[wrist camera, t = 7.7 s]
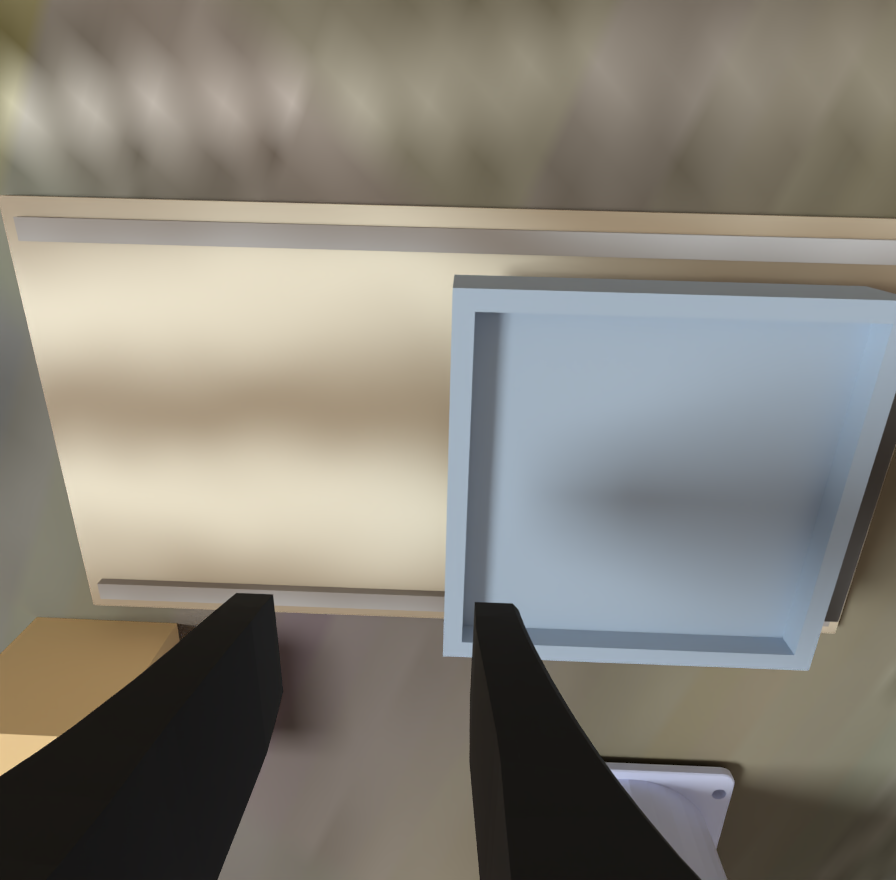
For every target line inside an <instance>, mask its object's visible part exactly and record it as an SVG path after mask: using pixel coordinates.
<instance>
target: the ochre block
mask: <svg viewBox="0 0 896 880" xmlns="http://www.w3.org/2000/svg"><path fill="white" fill-rule="evenodd" d="M179 641H180V639H179V633H178V627H177V623H157V622H134V621H111V620H89V619H66V618H43V617H37V618H36V619H35V620H34V621H33V622H32V623H31V624H30V625H29V626H28V627H27V628H26V629H25V630H24V631H23V632H22V633H21V634H20V635H19V636H18V637H17V638H16V639H15V640H14V641H13V642H12V643H11V644H10V645H9V646H8V647H7V648H6V649H5V650H4V651H3V652H2V653H1V654H0V776H1V775H2V774H4V773H6V772H7V771H9V770H10V769H12V768H13V767H15V766H16V765H18V764H19V763H21V762H22V761H24V760H25V759H27V758H28V757H30V756H31V755H33V754H34V753H36V752H37V751H39V750H40V749H42V748H43V747H44V746H46V745H47V744H49V743H50V742H52V741H53V740H54V739H56V738H57V737H59V736H60V735H62V734H63V733H64V732H66V731H67V730H68V729H70V728H71V727H73V726H74V725H75V724H77V723H78V722H79V721H81V720H82V719H83V718H84V717H86V716H87V715H88V714H90V713H91V712H92V711H94V710H95V709H96V708H97V707H99V706H100V705H101V704H103V703H104V702H105V701H107V700H108V699H109V698H110V697H112V696H113V695H114V694H116V693H117V692H118V691H120V690H121V689H122V688H124V687H125V686H126V685H127V684H129V683H130V682H131V681H133V680H134V679H135V678H136V677H138V676H139V675H140V674H141V673H142V672H144V671H145V670H146V669H147V668H148V667H150V666H151V665H152V664H153V663H154V662H156V661H157V660H158V659H159V658H160V657H162V656H163V655H164V654H165V653H166V652H168V651H169V650H170V649H171V648H172V647H174V646H175V645H176V644H177V643H178V642H179Z"/></svg>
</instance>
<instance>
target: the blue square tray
mask: <svg viewBox="0 0 896 880" xmlns="http://www.w3.org/2000/svg"><path fill="white" fill-rule="evenodd" d="M895 393H896V294H894V293H890V292H886V291H882V290H879V289H875V288H871V287H867V286H842V285H806V284H771V283H736V282H700V281H665V280H629V279H594V278H558V277H523V276H487V275H454V282H453V294H452V332H451V371H450V409H449V448H448V486H447V525H446V563H445V602H444V640H443V656H453V657H472V648H473V627H474V606H475V602H490V603H513V604H514V605H515V606H516V607H517V609H518V610H519V612H520V615H521V618H522V620H523V623H524V625H525V627H526V630H527V632H528V634H529V636H530V638H531V640H532V643H533V645H534V647H535V649H536V651H537V652H538V654H539V656H540V658H541V660H554V661H579V662H605V663H630V664H656V665H681V666H706V667H732V668H757V669H782V670H808V671H809V668H810V665H811V662H812V658H813V655H814V652H815V649H816V646H817V642H818V639H819V636H820V633H821V630H822V626H823V623H824V620H825V617H826V614H827V611H828V607H829V604H830V601H831V598H832V595H833V591H834V588H835V585H836V582H837V579H838V575H839V572H840V569H841V566H842V563H843V559H844V556H845V553H846V550H847V547H848V543H849V540H850V537H851V534H852V531H853V527H854V524H855V521H856V518H857V515H858V511H859V508H860V505H861V502H862V499H863V495H864V492H865V489H866V486H867V483H868V479H869V476H870V473H871V470H872V467H873V463H874V460H875V457H876V454H877V451H878V447H879V444H880V441H881V438H882V435H883V431H884V428H885V425H886V422H887V419H888V415H889V412H890V409H891V406H892V403H893V400H894V396H895Z"/></svg>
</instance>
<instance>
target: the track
mask: <svg viewBox="0 0 896 880" xmlns="http://www.w3.org/2000/svg"><path fill="white" fill-rule="evenodd" d="M0 209H1V213H2V218H3V222H4V226H5V230H6V235H7V239H8V243H9V247H10V252H11V256H12V260H13V264H14V269H15V273H16V277H17V281H18V286H19V290H20V294H21V298H22V302H23V307H24V311H25V315H26V319H27V324H28V328H29V332H30V336H31V341H32V345H33V349H34V353H35V358H36V362H37V366H38V370H39V375H40V379H41V383H42V387H43V392H44V396H45V400H46V404H47V409H48V413H49V417H50V421H51V426H52V430H53V434H54V438H55V443H56V447H57V451H58V455H59V460H60V464H61V468H62V472H63V477H64V481H65V485H66V489H67V494H68V498H69V502H70V506H71V511H72V515H73V519H74V523H75V528H76V532H77V536H78V540H79V545H80V549H81V553H82V557H83V562H84V566H85V570H86V574H87V579H88V583H89V587H90V591H91V596H92V600H93V604H94V605H107V606H133V607H159V608H185V609H212V610H217V609H218V608H219V607H220V606H221V605H222V604H223V603H225V602H226V601H227V600H228V599H229V598H231V597H232V596H233V595H234V594H236V593H252V594H273V597H274V607H275V612H290V613H316V614H342V615H368V616H394V617H420V618H444V602H445V563H446V525H447V486H448V448H449V409H450V371H451V332H452V294H453V282H454V275H487V276H523V277H558V278H594V279H629V280H665V281H700V282H736V283H771V284H806V285H842V286H867V287H871V288H875V289H879V290H882V291H886V292H890V293H894V294H896V218H861V217H822V216H784V215H746V214H708V213H670V212H632V211H593V210H555V209H517V208H479V207H441V206H403V205H364V204H326V203H288V202H250V201H212V200H174V199H135V198H97V197H59V196H21V195H0ZM895 447H896V393H895V396H894V400H893V403H892V406H891V409H890V412H889V415H888V419H887V422H886V425H885V428H884V431H883V435H882V438H881V441H880V444H879V447H878V451H877V454H876V457H875V460H874V463H873V467H872V470H871V473H870V476H869V479H868V483H867V486H866V489H865V492H864V495H863V499H862V502H861V505H860V508H859V511H858V515H857V518H856V521H855V524H854V527H853V531H852V534H851V537H850V540H849V543H848V547H847V550H846V553H845V556H844V559H843V563H842V566H841V569H840V572H839V575H838V579H837V582H836V585H835V588H834V591H833V595H832V598H831V601H830V604H829V607H828V611H827V614H826V617H825V620H824V623H823V626H822V630H821V633H835V632H836V629H837V626H838V623H839V619H840V616H841V613H842V610H843V607H844V604H845V601H846V598H847V595H848V592H849V589H850V586H851V582H852V579H853V576H854V573H855V570H856V567H857V564H858V561H859V558H860V555H861V552H862V548H863V545H864V542H865V539H866V536H867V533H868V530H869V527H870V524H871V521H872V518H873V515H874V511H875V508H876V505H877V502H878V499H879V496H880V493H881V490H882V487H883V484H884V481H885V477H886V474H887V471H888V468H889V465H890V462H891V459H892V456H893V453H894V450H895Z"/></svg>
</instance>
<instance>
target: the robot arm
mask: <svg viewBox="0 0 896 880" xmlns="http://www.w3.org/2000/svg"><path fill="white" fill-rule="evenodd" d="M282 693H283V687H282V677H281V667H280V657H279V647H278V637H277V627H276V617H275V607H274V597H273V594H252V593H236V594H234V595H233V596H232V597H231V598H229V599H228V600H227V601H226V602H225V603H223V604H222V605H221V606H220V607H219V608H218V609H217V610H215V611H214V612H213V613H212V614H211V615H210V616H208V617H207V618H206V619H205V620H204V621H203V622H201V623H200V624H199V625H198V626H197V627H196V628H194V629H193V630H192V631H191V632H190V633H189V634H188V635H186V636H185V637H184V638H183V639H182V640H181V641H179V642H178V643H177V644H176V645H175V646H174V647H172V648H171V649H170V650H169V651H168V652H166V653H165V654H164V655H163V656H162V657H160V658H159V659H158V660H157V661H156V662H154V663H153V664H152V665H151V666H150V667H148V668H147V669H146V670H145V671H144V672H142V673H141V674H140V675H139V676H138V677H136V678H135V679H134V680H133V681H131V682H130V683H129V684H127V685H126V686H125V687H124V688H122V689H121V690H120V691H118V692H117V693H116V694H114V695H113V696H112V697H110V698H109V699H108V700H107V701H105V702H104V703H103V704H101V705H100V706H99V707H97V708H96V709H95V710H94V711H92V712H91V713H90V714H88V715H87V716H86V717H84V718H83V719H82V720H81V721H79V722H78V723H77V724H75V725H74V726H73V727H71V728H70V729H68V730H67V731H66V732H64V733H63V734H62V735H60V736H59V737H57V738H56V739H54V740H53V741H52V742H50V743H49V744H47V745H46V746H44V747H43V748H42V749H40V750H39V751H37V752H36V753H34V754H33V755H31V756H30V757H28V758H27V759H25V760H24V761H22V762H21V763H19V764H18V765H16V766H15V767H13V768H12V769H10V770H9V771H7V772H6V773H4V774H2V775H1V776H0V880H217V879H218V877H219V874H220V872H221V869H222V867H223V864H224V861H225V859H226V856H227V854H228V851H229V849H230V846H231V844H232V841H233V839H234V836H235V834H236V831H237V829H238V826H239V823H240V821H241V818H242V816H243V813H244V811H245V808H246V806H247V803H248V801H249V798H250V795H251V793H252V790H253V788H254V785H255V783H256V780H257V777H258V775H259V772H260V770H261V767H262V764H263V762H264V759H265V756H266V754H267V751H268V747H269V743H270V740H271V736H272V732H273V729H274V725H275V721H276V717H277V713H278V709H279V705H280V701H281V697H282ZM470 772H471V784H472V796H473V807H474V818H475V830H476V841H477V852H478V863H479V875H480V880H727V877H726V875H725V872H724V869H723V867H722V864H721V861H720V859H719V856H718V853H717V850H716V849H717V845H718V842H719V838H720V835H721V831H722V827H723V824H724V820H725V817H726V813H727V809H728V806H729V802H730V799H731V795H732V792H733V788H734V784H735V781H734V778H733V776H732V774H731V772H730V771H729V770H728V769H726V768H722V767H707V766H683V765H659V764H636V763H612V762H604V760H603V759H602V757H601V756H600V755H599V753H598V752H597V750H596V749H595V747H594V746H593V744H592V743H591V741H590V740H589V738H588V737H587V735H586V734H585V732H584V731H583V729H582V728H581V726H580V725H579V723H578V722H577V720H576V719H575V717H574V715H573V714H572V712H571V711H570V709H569V707H568V706H567V704H566V702H565V701H564V699H563V697H562V696H561V694H560V692H559V690H558V689H557V687H556V685H555V684H554V682H553V680H552V679H551V677H550V675H549V673H548V671H547V670H546V668H545V666H544V664H543V662H542V660H541V658H540V656H539V654H538V652H537V651H536V649H535V647H534V645H533V643H532V640H531V638H530V636H529V634H528V632H527V630H526V627H525V625H524V623H523V620H522V618H521V615H520V612H519V610H518V609H517V607H516V606H515V605H514V604H513V603H490V602H475V606H474V627H473V648H472V668H471V689H470Z"/></svg>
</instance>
